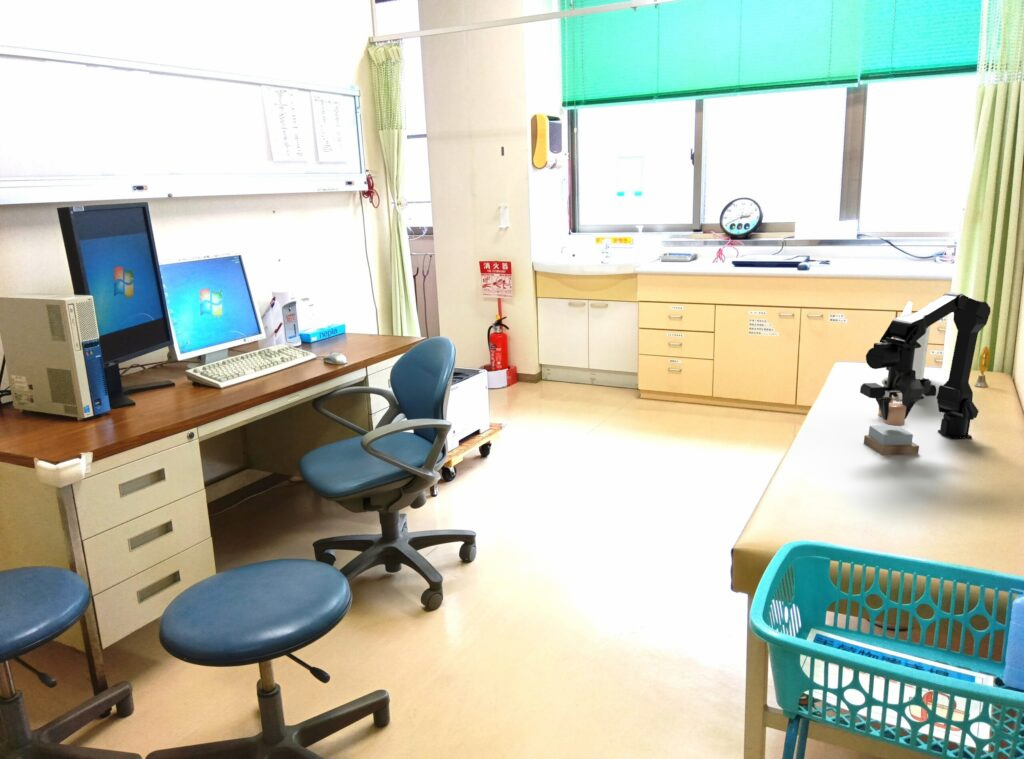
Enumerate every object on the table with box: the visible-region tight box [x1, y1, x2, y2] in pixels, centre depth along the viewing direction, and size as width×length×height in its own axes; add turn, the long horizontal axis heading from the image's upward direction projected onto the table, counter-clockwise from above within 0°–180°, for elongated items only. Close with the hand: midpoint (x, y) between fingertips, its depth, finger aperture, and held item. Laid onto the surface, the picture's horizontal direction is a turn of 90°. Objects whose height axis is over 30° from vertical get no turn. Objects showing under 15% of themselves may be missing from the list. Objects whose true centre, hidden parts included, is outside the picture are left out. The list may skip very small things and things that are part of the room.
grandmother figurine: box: [877, 376, 900, 417], centre depth 237 cm, size 8×4×13 cm, turn 71°
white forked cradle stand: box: [892, 301, 932, 401], centre depth 265 cm, size 35×8×28 cm, turn 149°
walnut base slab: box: [863, 434, 920, 457], centre depth 211 cm, size 10×10×3 cm
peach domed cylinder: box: [883, 402, 906, 427], centre depth 208 cm, size 5×5×5 cm
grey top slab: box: [867, 424, 914, 445], centre depth 210 cm, size 8×8×3 cm
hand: (894, 419), depth 209 cm, fingers closed on peach domed cylinder, 5 cm apart
